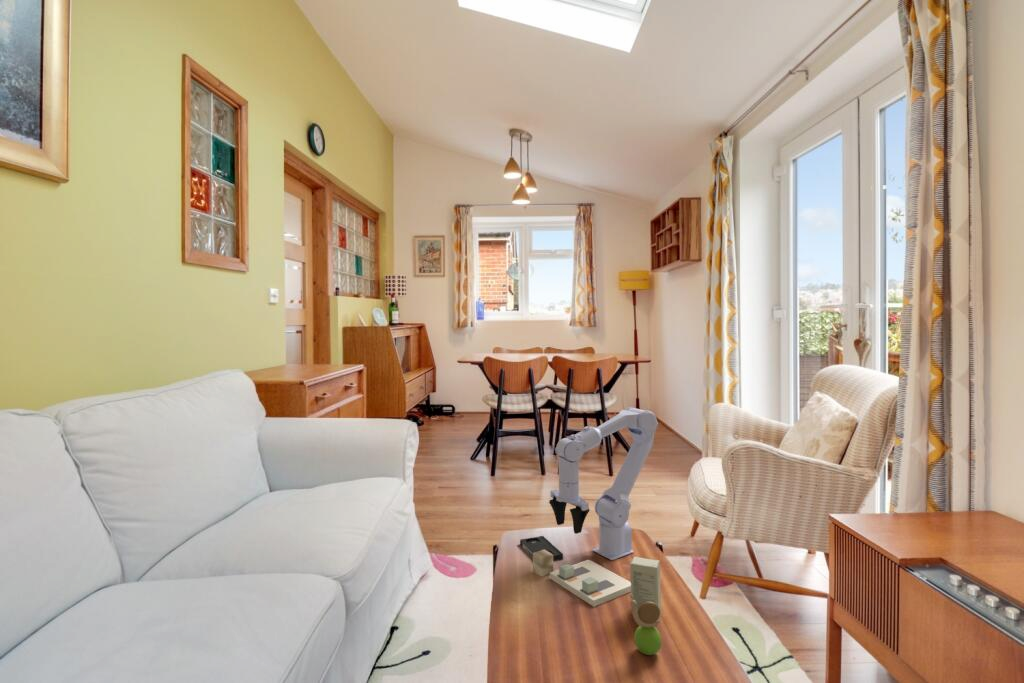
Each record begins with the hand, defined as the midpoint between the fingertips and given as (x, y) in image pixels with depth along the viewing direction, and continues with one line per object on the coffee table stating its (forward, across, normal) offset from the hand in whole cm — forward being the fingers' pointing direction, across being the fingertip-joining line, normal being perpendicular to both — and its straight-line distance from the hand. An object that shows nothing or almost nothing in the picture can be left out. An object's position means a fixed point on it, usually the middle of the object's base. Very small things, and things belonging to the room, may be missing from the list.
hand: (568, 528), depth 143 cm
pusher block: (+10, +1, -10) cm, 14 cm away
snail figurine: (+10, +41, -14) cm, 44 cm away
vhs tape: (+10, -10, -3) cm, 14 cm away
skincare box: (+10, +31, -3) cm, 33 cm away
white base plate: (+9, +14, -4) cm, 17 cm away
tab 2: (+8, +18, -8) cm, 21 cm away
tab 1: (+8, +9, -9) cm, 15 cm away
